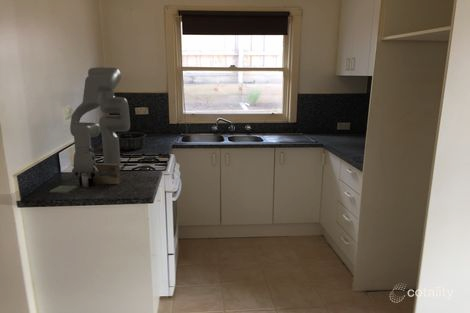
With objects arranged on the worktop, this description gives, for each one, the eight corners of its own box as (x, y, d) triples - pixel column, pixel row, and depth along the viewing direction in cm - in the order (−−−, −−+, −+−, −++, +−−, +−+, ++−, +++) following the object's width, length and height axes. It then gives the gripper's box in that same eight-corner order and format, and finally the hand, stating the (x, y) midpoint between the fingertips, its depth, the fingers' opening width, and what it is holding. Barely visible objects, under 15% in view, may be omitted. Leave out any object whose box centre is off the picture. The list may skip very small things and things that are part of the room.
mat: (60, 186, 183) (60, 185, 183) (77, 187, 182) (77, 186, 182) (49, 192, 174) (49, 190, 174) (67, 193, 173) (67, 191, 173)
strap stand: (87, 181, 192) (86, 162, 190) (120, 182, 190) (118, 164, 188) (84, 182, 190) (83, 164, 187) (117, 184, 187) (116, 165, 185)
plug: (84, 184, 186) (83, 171, 184) (92, 184, 186) (91, 171, 184) (80, 186, 182) (79, 173, 181) (88, 187, 182) (87, 173, 180)
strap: (110, 170, 186) (110, 168, 186) (114, 170, 186) (114, 168, 185) (99, 175, 175) (99, 173, 175) (104, 176, 175) (104, 174, 175)
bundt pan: (141, 151, 267) (141, 138, 265) (106, 151, 267) (105, 137, 265) (150, 144, 292) (150, 132, 290) (118, 144, 293) (117, 132, 291)
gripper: (103, 148, 182) (105, 183, 186) (71, 147, 184) (75, 182, 188) (95, 152, 175) (98, 188, 179) (63, 150, 177) (66, 186, 181)
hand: (86, 184), depth 184 cm, fingers closed on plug, 4 cm apart
